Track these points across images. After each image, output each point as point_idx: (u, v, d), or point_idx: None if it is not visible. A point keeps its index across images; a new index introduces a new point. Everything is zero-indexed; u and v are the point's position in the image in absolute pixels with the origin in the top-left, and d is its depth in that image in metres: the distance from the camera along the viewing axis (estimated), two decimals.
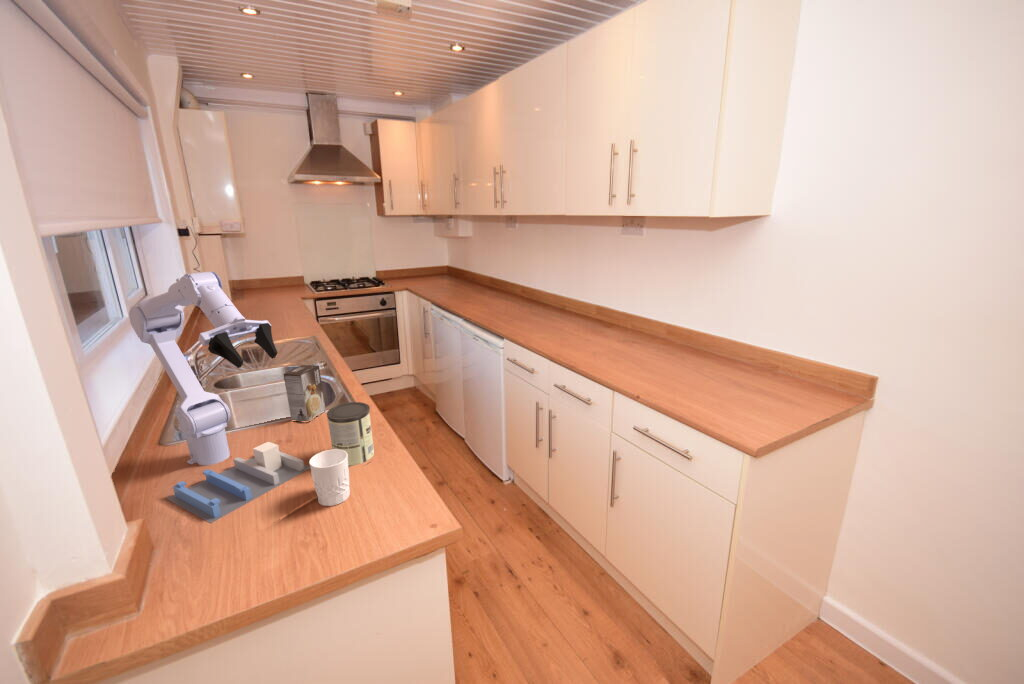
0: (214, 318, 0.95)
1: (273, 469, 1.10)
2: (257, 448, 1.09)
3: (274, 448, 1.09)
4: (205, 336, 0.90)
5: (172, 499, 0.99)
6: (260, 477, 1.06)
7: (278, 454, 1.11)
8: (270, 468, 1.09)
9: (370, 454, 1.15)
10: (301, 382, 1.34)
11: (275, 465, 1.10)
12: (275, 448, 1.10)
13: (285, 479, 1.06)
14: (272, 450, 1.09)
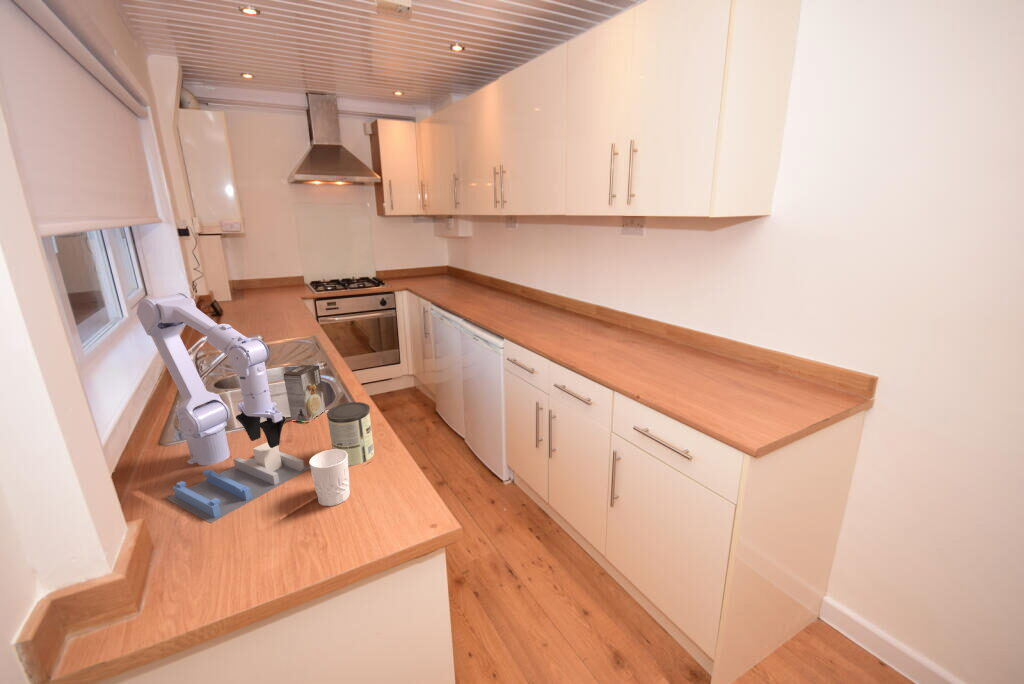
0: (266, 396, 1.05)
1: (273, 469, 1.10)
2: (257, 448, 1.09)
3: (274, 448, 1.09)
4: None
5: (172, 499, 0.99)
6: (260, 477, 1.06)
7: (278, 454, 1.11)
8: (270, 468, 1.09)
9: (370, 454, 1.15)
10: (301, 382, 1.34)
11: (275, 465, 1.10)
12: (275, 448, 1.10)
13: (285, 479, 1.06)
14: (272, 450, 1.09)
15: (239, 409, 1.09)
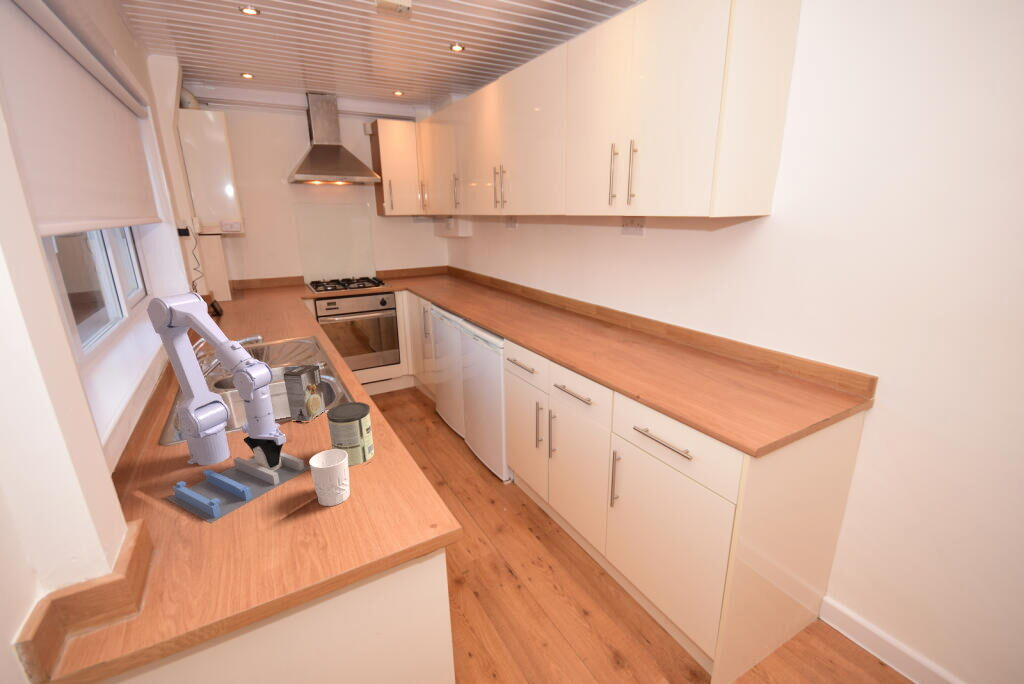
0: (270, 418, 1.07)
1: (273, 469, 1.10)
2: (257, 448, 1.09)
3: None
4: None
5: (172, 499, 0.99)
6: (260, 477, 1.06)
7: None
8: (270, 468, 1.09)
9: (370, 454, 1.15)
10: (301, 382, 1.34)
11: None
12: None
13: (285, 479, 1.06)
14: None
15: (243, 430, 1.11)
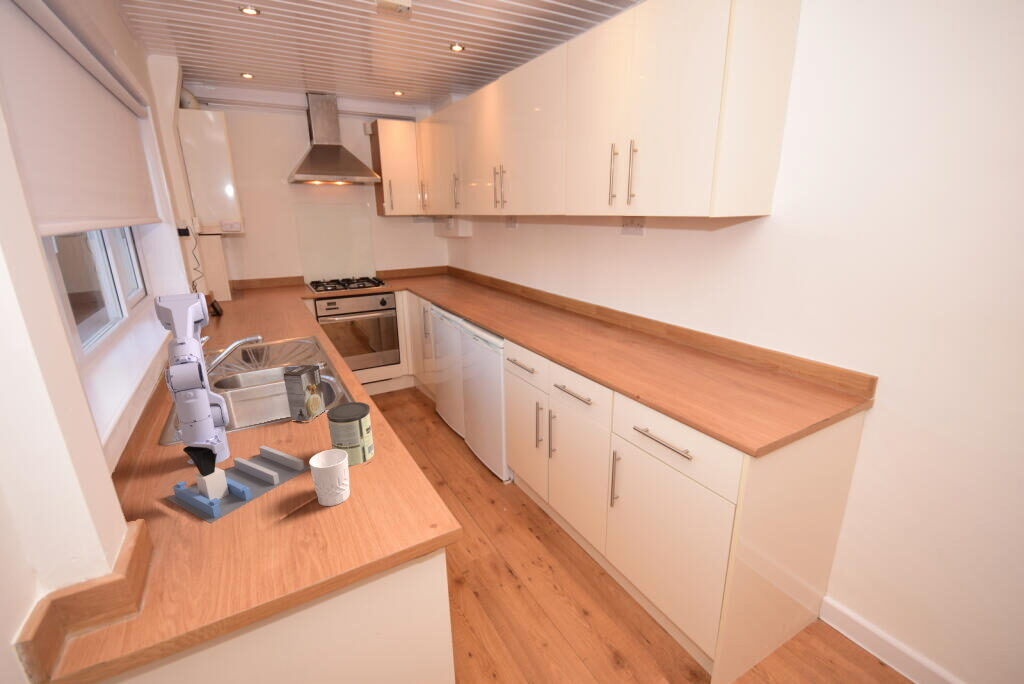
0: (207, 423, 0.94)
1: (218, 497, 0.99)
2: (200, 474, 0.98)
3: (219, 474, 0.98)
4: None
5: (172, 499, 0.99)
6: (260, 477, 1.06)
7: (224, 480, 1.00)
8: (215, 496, 0.98)
9: (370, 454, 1.15)
10: (301, 382, 1.34)
11: (221, 493, 0.99)
12: (220, 474, 0.99)
13: (285, 479, 1.06)
14: (216, 477, 0.98)
15: (179, 437, 0.98)
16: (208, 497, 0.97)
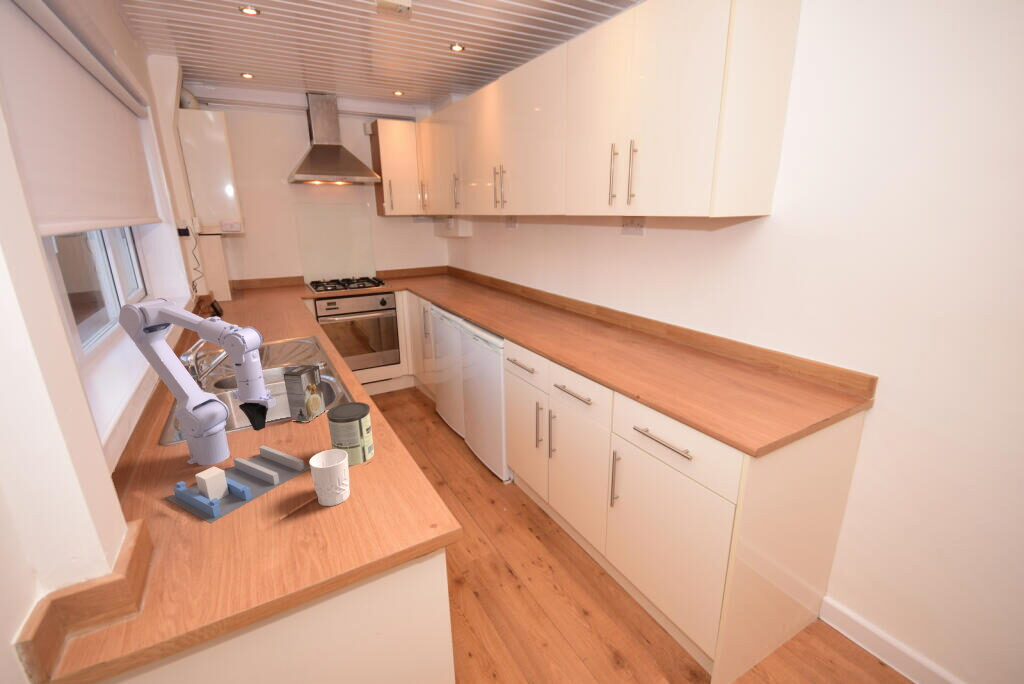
0: (260, 383, 1.08)
1: (218, 497, 0.99)
2: (200, 474, 0.98)
3: (219, 474, 0.98)
4: None
5: (172, 499, 0.99)
6: (260, 477, 1.06)
7: (224, 480, 1.00)
8: (215, 496, 0.98)
9: (370, 454, 1.15)
10: (301, 382, 1.34)
11: (221, 493, 0.99)
12: (220, 474, 0.99)
13: (285, 479, 1.06)
14: (216, 477, 0.98)
15: (234, 396, 1.12)
16: (208, 497, 0.97)
